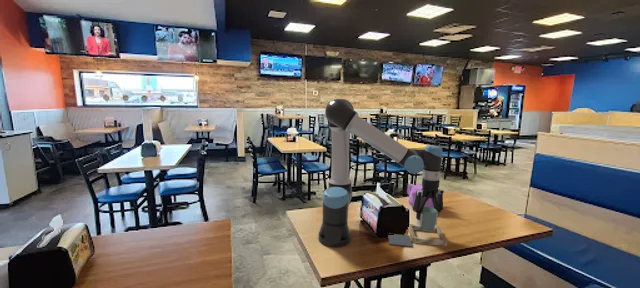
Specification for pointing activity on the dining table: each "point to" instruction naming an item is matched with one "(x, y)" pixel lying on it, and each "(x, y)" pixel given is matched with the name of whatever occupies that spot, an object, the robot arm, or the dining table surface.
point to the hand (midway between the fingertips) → (426, 224)
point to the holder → (440, 242)
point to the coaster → (400, 240)
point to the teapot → (412, 195)
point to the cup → (428, 218)
